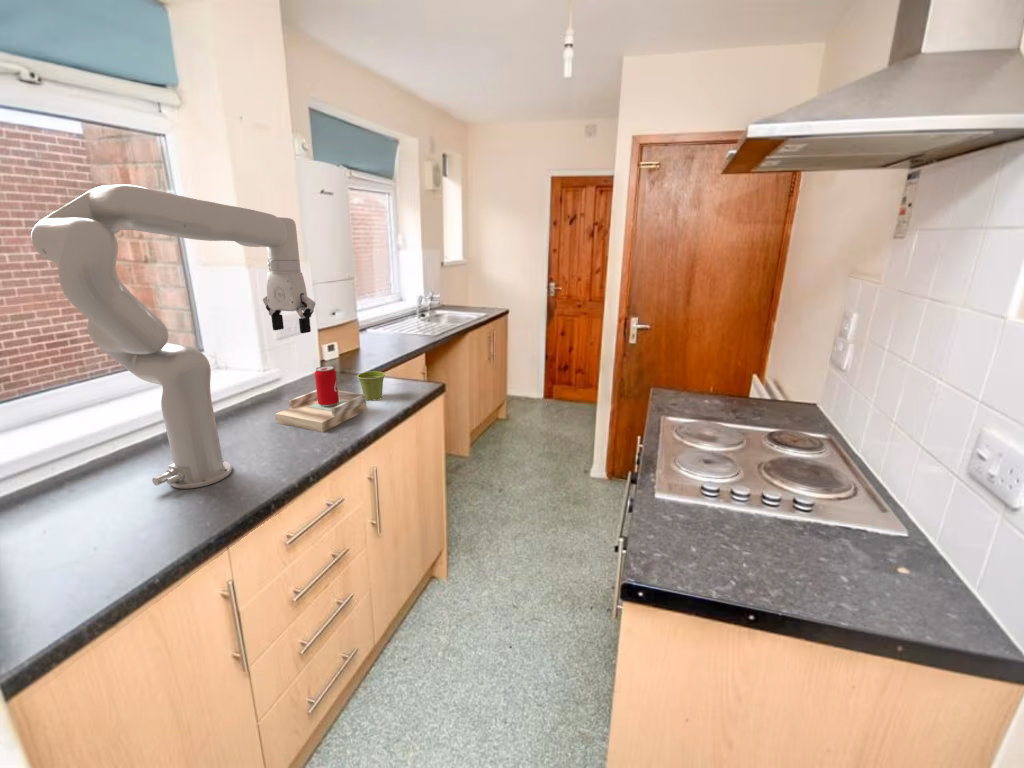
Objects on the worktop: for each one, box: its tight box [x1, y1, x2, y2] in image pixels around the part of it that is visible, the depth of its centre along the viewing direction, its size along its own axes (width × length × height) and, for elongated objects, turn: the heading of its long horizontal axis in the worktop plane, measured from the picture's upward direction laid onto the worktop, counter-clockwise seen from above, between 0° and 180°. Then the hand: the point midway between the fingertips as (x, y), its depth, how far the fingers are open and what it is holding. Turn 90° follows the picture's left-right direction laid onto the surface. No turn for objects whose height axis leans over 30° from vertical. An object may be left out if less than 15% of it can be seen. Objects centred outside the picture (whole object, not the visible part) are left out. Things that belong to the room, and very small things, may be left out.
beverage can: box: [314, 365, 339, 407], centre depth 150 cm, size 6×6×12 cm
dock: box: [274, 389, 368, 433], centre depth 150 cm, size 20×18×6 cm
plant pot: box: [356, 370, 386, 401], centre depth 167 cm, size 9×9×9 cm
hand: (291, 331), depth 130 cm, fingers open, 9 cm apart
